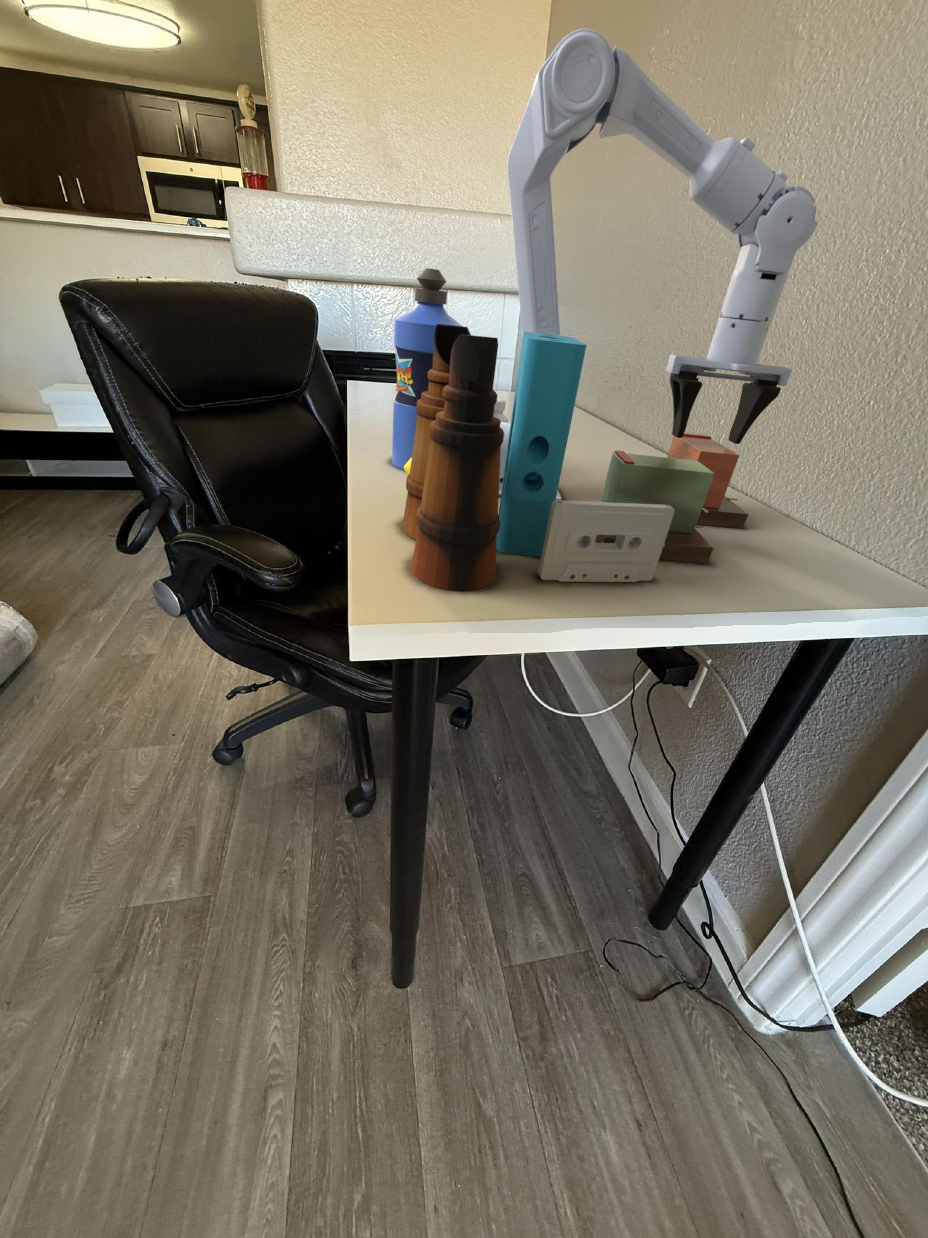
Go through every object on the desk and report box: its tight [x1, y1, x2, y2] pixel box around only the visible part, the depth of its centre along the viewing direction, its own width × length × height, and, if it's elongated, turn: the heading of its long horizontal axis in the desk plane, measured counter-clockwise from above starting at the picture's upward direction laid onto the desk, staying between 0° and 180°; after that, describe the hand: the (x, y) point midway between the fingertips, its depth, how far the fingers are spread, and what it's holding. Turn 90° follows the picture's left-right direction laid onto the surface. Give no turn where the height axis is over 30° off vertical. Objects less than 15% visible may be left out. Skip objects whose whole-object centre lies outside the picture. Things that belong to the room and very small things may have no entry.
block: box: [496, 332, 587, 557], centre depth 53 cm, size 12×5×20 cm, turn 176°
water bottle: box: [391, 267, 463, 470], centre depth 73 cm, size 9×9×25 cm
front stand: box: [584, 500, 714, 565], centre depth 62 cm, size 14×14×2 cm
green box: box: [600, 450, 715, 534], centre depth 59 cm, size 10×5×7 cm, turn 89°
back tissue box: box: [666, 432, 740, 508], centre depth 71 cm, size 10×5×7 cm, turn 179°
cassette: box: [537, 500, 675, 583], centre depth 50 cm, size 12×2×8 cm, turn 99°
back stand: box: [697, 495, 749, 529], centre depth 73 cm, size 14×14×2 cm
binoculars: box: [401, 324, 504, 592], centre depth 49 cm, size 18×8×20 cm, turn 11°
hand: (705, 439), depth 68 cm, fingers open, 7 cm apart
